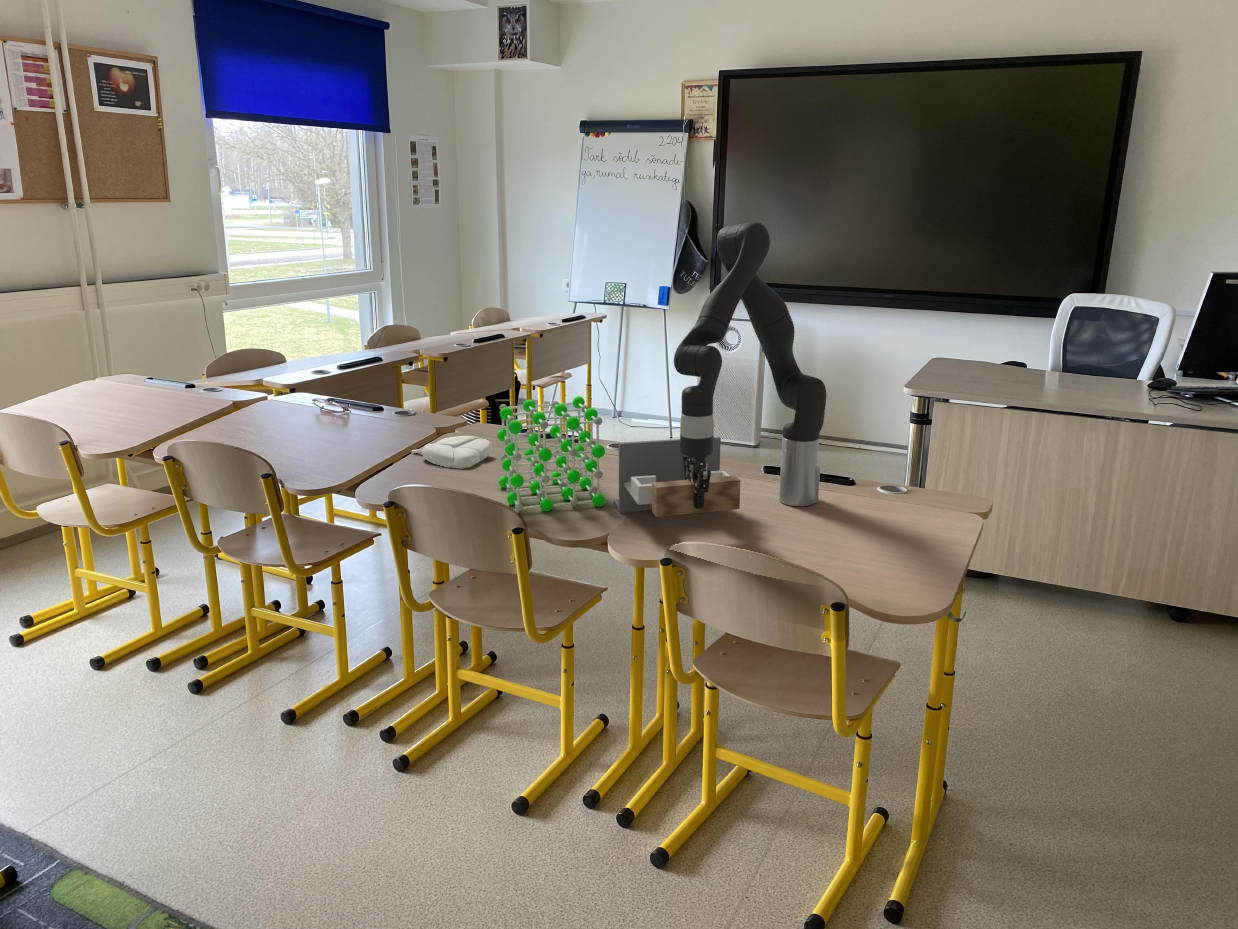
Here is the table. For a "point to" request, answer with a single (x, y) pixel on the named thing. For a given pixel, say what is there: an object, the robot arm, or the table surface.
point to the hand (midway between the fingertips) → (695, 504)
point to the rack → (653, 470)
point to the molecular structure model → (546, 454)
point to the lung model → (456, 451)
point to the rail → (681, 496)
